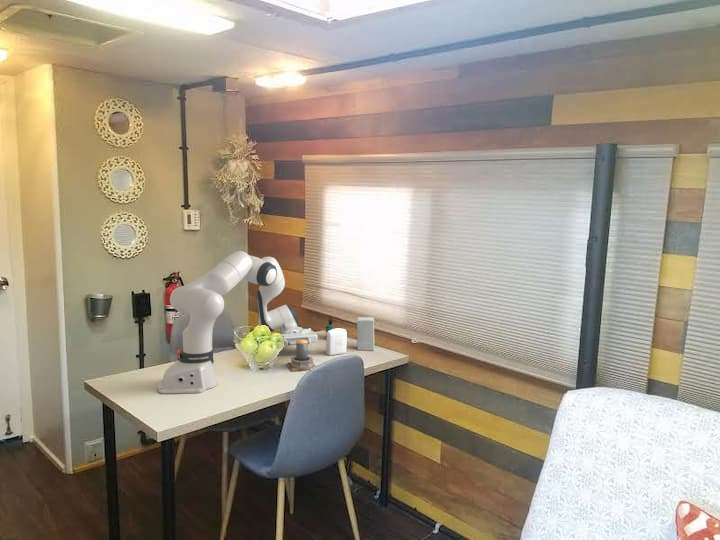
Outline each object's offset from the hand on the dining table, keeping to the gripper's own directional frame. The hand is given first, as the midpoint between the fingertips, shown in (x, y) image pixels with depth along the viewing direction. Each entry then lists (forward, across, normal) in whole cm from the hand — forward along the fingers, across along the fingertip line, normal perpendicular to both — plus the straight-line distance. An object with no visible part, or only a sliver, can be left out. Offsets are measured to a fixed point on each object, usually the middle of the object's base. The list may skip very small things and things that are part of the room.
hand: (298, 343), depth 248 cm
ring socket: (+10, 0, +8) cm, 13 cm away
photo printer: (-6, +20, +9) cm, 22 cm away
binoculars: (-34, +25, +9) cm, 43 cm away
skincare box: (-11, +36, +9) cm, 38 cm away
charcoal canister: (+10, 0, +7) cm, 12 cm away
